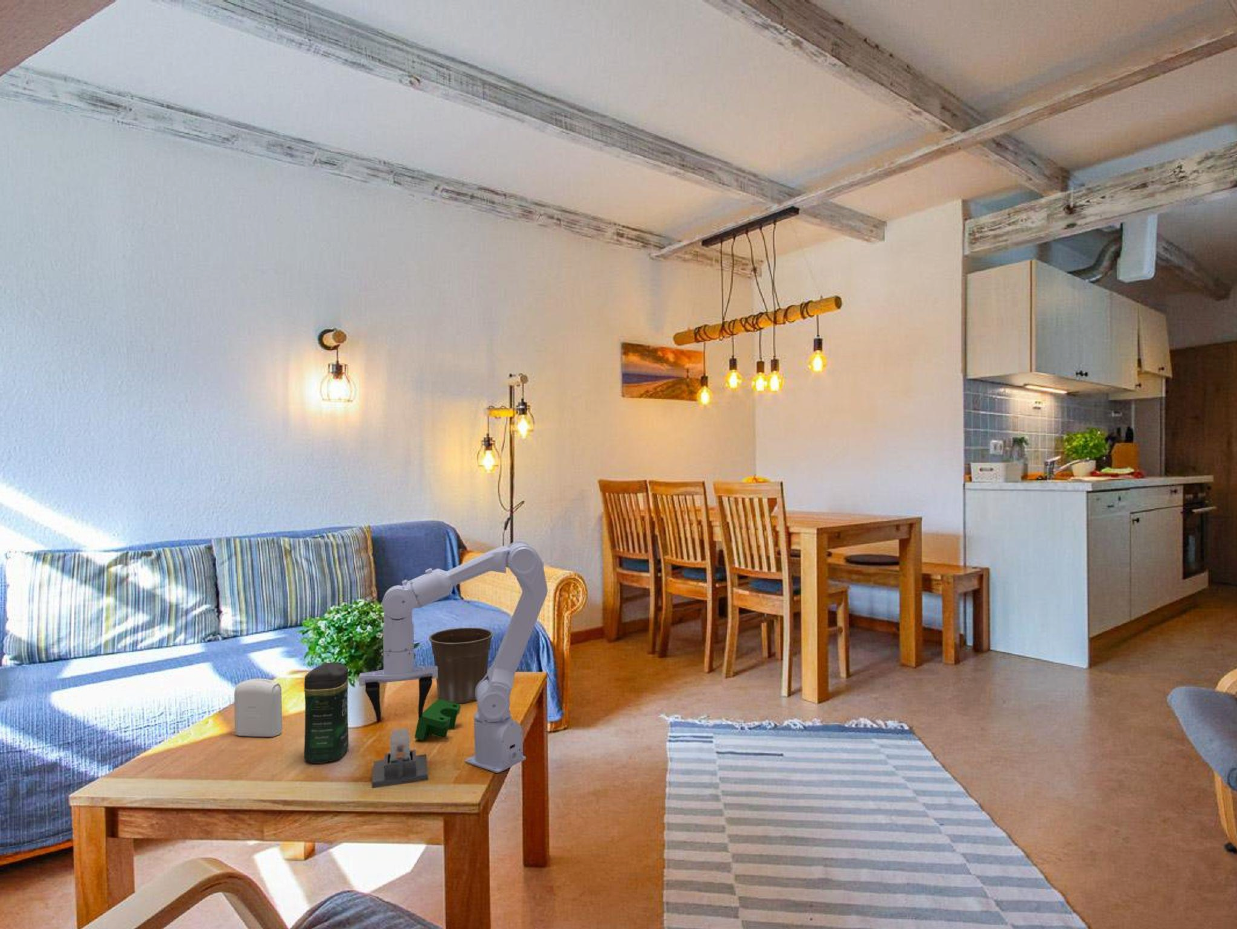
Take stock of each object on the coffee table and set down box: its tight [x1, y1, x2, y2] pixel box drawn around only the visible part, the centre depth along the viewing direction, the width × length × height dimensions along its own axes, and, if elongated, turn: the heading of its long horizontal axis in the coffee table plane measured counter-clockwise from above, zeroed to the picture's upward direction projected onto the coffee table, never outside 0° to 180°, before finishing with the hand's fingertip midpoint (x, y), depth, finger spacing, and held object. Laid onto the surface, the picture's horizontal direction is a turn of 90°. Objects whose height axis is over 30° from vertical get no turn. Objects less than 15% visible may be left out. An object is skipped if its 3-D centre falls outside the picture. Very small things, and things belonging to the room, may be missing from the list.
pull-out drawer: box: [389, 727, 411, 763], centre depth 135 cm, size 4×5×6 cm
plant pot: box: [428, 627, 494, 705], centre depth 180 cm, size 16×16×16 cm
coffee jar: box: [303, 661, 350, 764], centre depth 144 cm, size 10×8×19 cm
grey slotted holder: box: [371, 749, 429, 789], centre depth 135 cm, size 10×10×5 cm
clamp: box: [414, 698, 462, 742], centre depth 155 cm, size 12×6×9 cm, turn 168°
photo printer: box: [233, 678, 283, 738], centre depth 156 cm, size 10×4×12 cm, turn 81°
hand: (399, 718), depth 135 cm, fingers open, 7 cm apart
